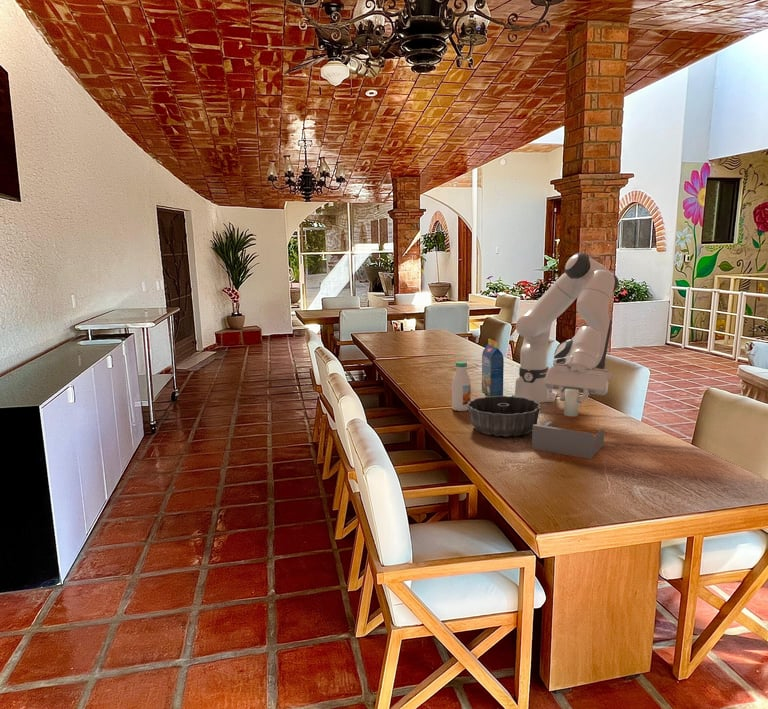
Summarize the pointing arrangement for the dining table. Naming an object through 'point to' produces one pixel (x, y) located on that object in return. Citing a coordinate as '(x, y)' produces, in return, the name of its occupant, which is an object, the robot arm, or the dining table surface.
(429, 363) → the dining table surface
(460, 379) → the milk bottle
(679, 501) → the dining table surface
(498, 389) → the blue food package
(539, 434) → the grey open tray
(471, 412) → the bundt pan
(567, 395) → the dome-topped cream cylinder
